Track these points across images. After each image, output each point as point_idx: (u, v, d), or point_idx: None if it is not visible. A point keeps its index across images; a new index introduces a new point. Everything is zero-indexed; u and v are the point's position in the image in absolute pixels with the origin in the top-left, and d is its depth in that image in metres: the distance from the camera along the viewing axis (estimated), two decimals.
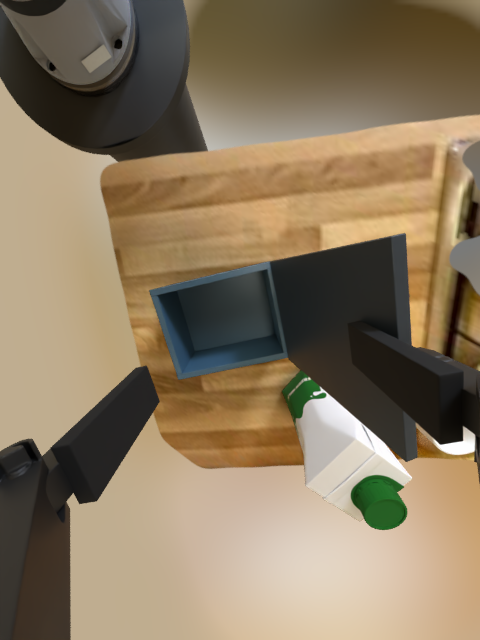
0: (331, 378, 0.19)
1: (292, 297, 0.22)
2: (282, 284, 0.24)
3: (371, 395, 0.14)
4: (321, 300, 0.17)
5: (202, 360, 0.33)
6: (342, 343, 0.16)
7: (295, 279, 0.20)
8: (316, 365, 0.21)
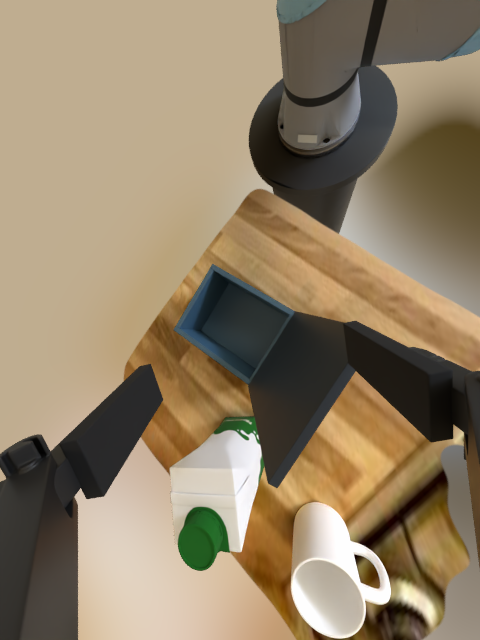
0: (267, 408, 0.22)
1: (289, 341, 0.26)
2: (290, 329, 0.28)
3: (284, 427, 0.17)
4: (305, 350, 0.21)
5: (198, 336, 0.39)
6: (295, 384, 0.19)
7: (301, 330, 0.25)
8: (265, 396, 0.24)
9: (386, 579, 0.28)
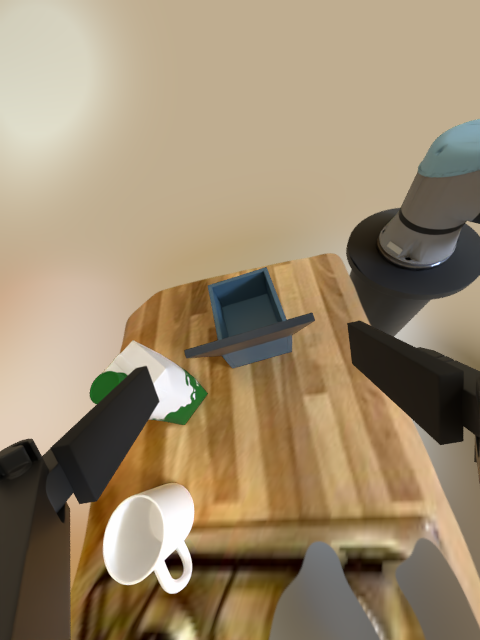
0: None
1: None
2: None
3: None
4: None
5: (218, 304, 0.47)
6: None
7: None
8: None
9: (183, 582, 0.27)
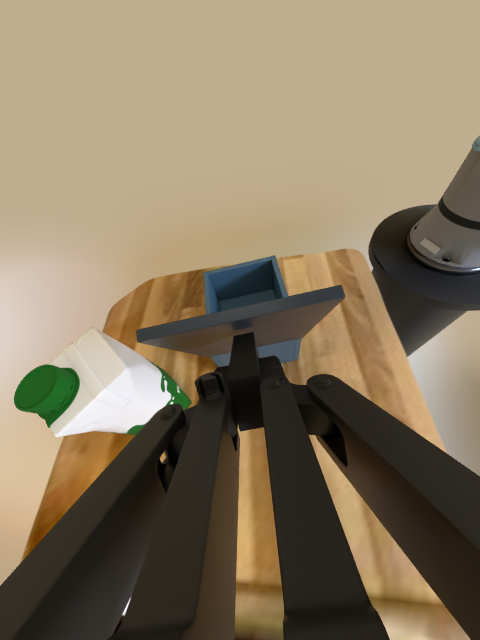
0: None
1: None
2: None
3: None
4: None
5: (214, 296, 0.39)
6: None
7: None
8: None
9: None
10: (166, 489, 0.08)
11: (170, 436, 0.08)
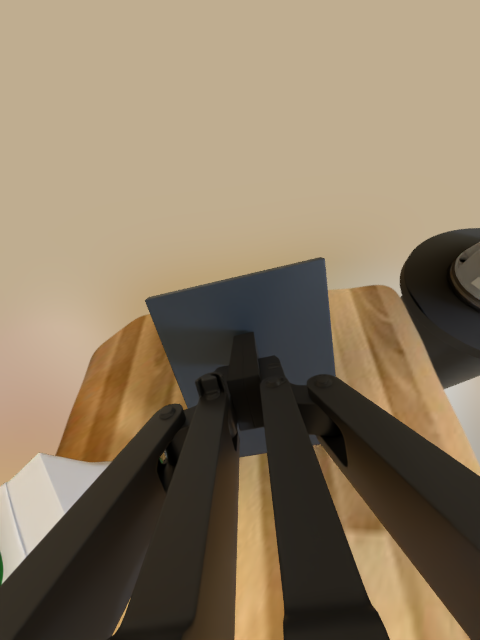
0: None
1: None
2: None
3: None
4: None
5: None
6: None
7: None
8: None
9: None
10: (166, 489, 0.08)
11: (170, 436, 0.08)
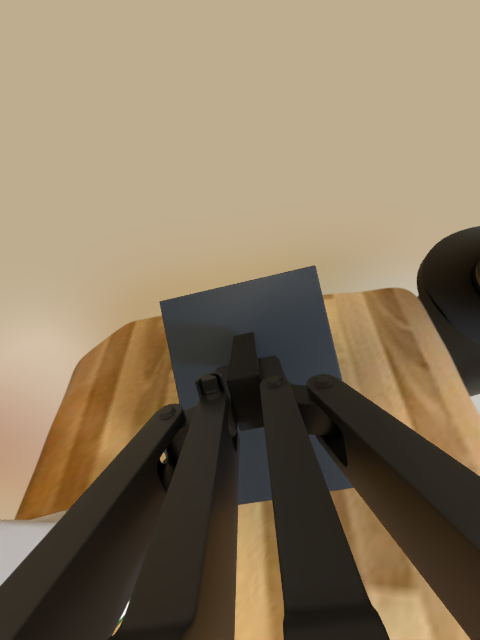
0: None
1: None
2: None
3: None
4: None
5: None
6: None
7: None
8: None
9: None
10: (166, 489, 0.08)
11: (170, 436, 0.08)
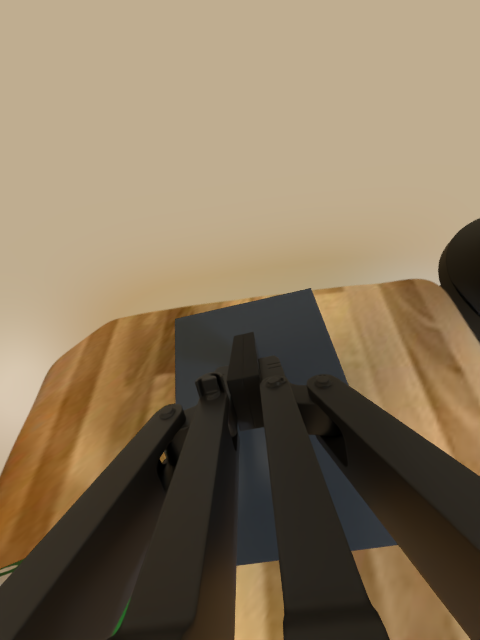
0: None
1: None
2: None
3: None
4: None
5: None
6: None
7: None
8: None
9: None
10: (166, 489, 0.08)
11: (170, 436, 0.08)
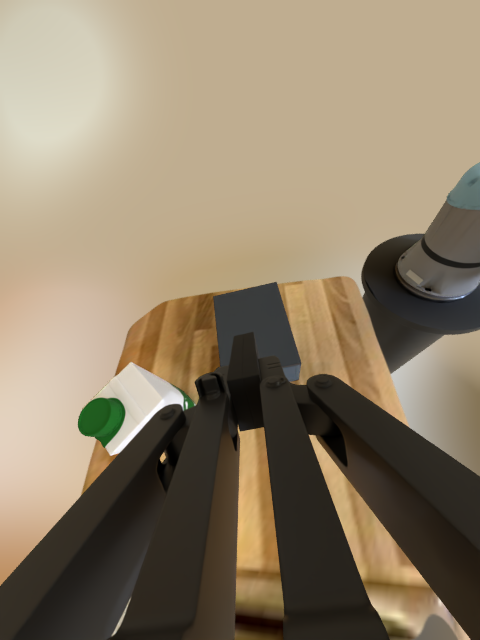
0: None
1: None
2: None
3: None
4: None
5: None
6: None
7: None
8: None
9: None
10: (166, 489, 0.08)
11: (170, 436, 0.08)
